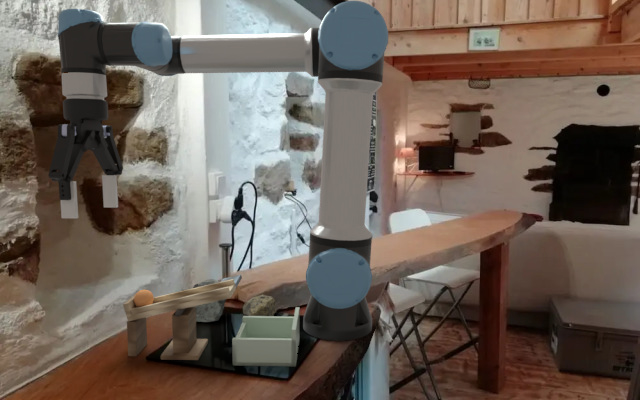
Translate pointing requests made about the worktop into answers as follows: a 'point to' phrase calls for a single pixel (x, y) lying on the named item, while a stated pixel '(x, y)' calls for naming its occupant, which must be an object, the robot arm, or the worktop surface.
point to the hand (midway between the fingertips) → (91, 212)
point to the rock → (260, 306)
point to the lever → (183, 299)
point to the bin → (267, 341)
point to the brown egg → (143, 298)
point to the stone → (209, 306)
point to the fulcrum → (183, 337)
